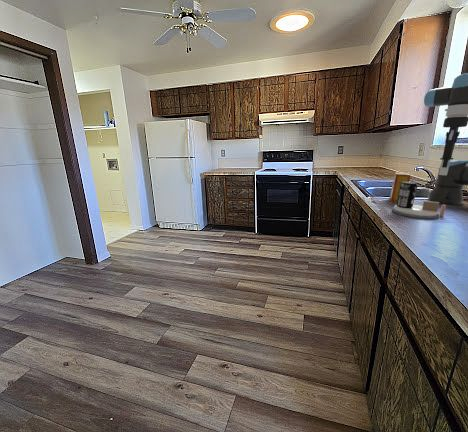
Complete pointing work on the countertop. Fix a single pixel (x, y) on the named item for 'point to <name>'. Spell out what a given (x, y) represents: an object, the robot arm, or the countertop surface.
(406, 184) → the beverage can
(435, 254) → the countertop surface
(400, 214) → the base
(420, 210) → the disc
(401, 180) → the baking soda box
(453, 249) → the countertop surface
